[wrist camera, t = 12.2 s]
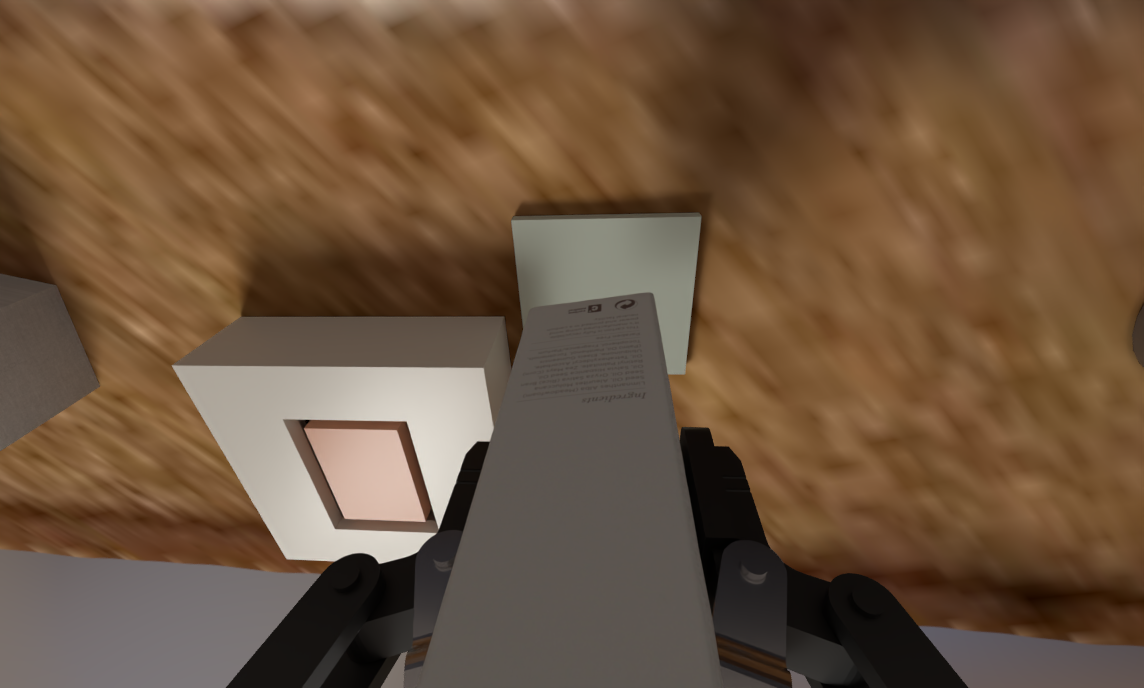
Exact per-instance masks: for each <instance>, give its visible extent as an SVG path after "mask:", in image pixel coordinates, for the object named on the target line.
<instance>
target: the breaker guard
mask: <svg viewBox="0 0 1144 688" xmlns="http://www.w3.org/2000/svg"><path fill="white" fill-rule="evenodd" d="M172 367H173V369H174V370H175V372H176V374H177V375H178V377H179V379H180V380H181V382H182V384H183V385H184V387H185V389H186V390H187V392H188V394H189V395H190V397H191V399H192V401H193V402H194V404H195V406H196V407H197V409H198V411H199V412H200V414H201V416H202V417H203V419H204V421H205V422H206V424H207V426H208V428H209V429H210V431H211V433H212V434H213V436H214V438H215V439H216V441H217V443H218V444H219V446H220V448H221V449H222V451H223V453H224V454H225V456H226V458H227V460H228V461H229V463H230V465H231V466H232V468H233V470H234V471H235V473H236V475H237V476H238V478H239V480H240V481H241V483H242V485H243V486H244V488H245V490H246V492H247V493H248V495H249V497H250V498H251V500H252V502H253V503H254V505H255V507H256V508H257V510H258V512H259V513H260V515H261V517H262V519H263V520H264V522H265V524H266V525H267V527H268V529H269V530H270V532H271V534H272V535H273V537H274V539H275V540H276V542H277V544H278V545H279V547H280V549H281V551H282V552H283V554H284V556H285V557H286V559H296V560H319V561H337V560H338V559H340V558H342V557H344V556H347V555H350V554H354V553H366V554H369V555H371V556H373V557H374V558H375V559H376V560H377V561H378V563H385V562H389V561H393V560H397V559H400V558H404V557H407V556H410V555H412V554H415V553H417V552H418V551H419V550H420V548H421V547H422V545H423V544H424V543H425V542H426V541H427V540H428V539H429V538H431V537H432V536H434V535H435V534H437V532H438V530H439V528H440V525H441V522H442V519H443V516H444V514H445V511H446V508H447V505H448V502H449V499H450V497H451V494H452V491H453V488H454V485H455V484H456V480H457V477H458V474H459V472H460V468H461V466H462V463H463V460H464V457H465V454H466V453H467V452H468V451H469V450H470V449H471V448H472V446H473V445H474V444H475V443H476V442H477V441H490V439H491V436H492V432H493V429H494V426H495V423H496V419H497V416H498V412H499V409H500V406H501V403H502V400H503V396H504V393H505V390H506V387H507V383H508V380H509V377H510V373H511V370H512V369H511V362H510V354H509V347H508V339H507V331H506V324H505V316H496V317H240V318H238V319H237V320H235V321H234V322H233V323H231V324H230V325H228V326H227V327H226V328H224V329H223V330H221V331H220V332H218V333H217V334H216V335H214V336H213V337H211V338H210V339H209V340H207V341H206V342H204V343H203V344H202V345H200V346H199V347H197V348H196V349H194V350H193V351H192V352H190V353H189V354H187V355H186V356H185V357H183V358H182V359H180V360H179V361H177V362H176V363H175V364H173V365H172ZM305 420H354V421H407V424H408V427H409V431H410V434H411V438H412V441H413V444H414V448H415V451H416V454H417V458H418V461H419V465H420V468H421V471H422V475H423V478H424V481H425V485H426V488H427V492H428V495H429V498H430V502H431V505H432V508H431V510H430V513H429V515H428V518H427V520H426V522H416V521H389V520H361V519H345V518H344V516H343V514H342V512H341V509H340V507H339V505H338V503H337V501H336V498H335V496H334V494H333V492H332V490H331V487H330V485H329V483H328V481H327V478H326V476H325V474H324V472H323V470H322V467H321V465H320V463H319V461H318V459H317V456H316V454H315V452H314V450H313V448H312V445H311V443H310V441H309V439H308V436H307V434H306V432H305V430H304V428H305V426H306V425H307V424H306V422H305Z"/></svg>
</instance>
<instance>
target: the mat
mask: <svg viewBox="0 0 1144 688" xmlns="http://www.w3.org/2000/svg"><path fill="white" fill-rule="evenodd" d="M511 223H512V232H513V241H514V250H515V259H516V268H517V277H518V287H519V296H520V305H521V314H522V323H523V329H524V326H525V323H526V320H527V316H528V313H529V310H530V309H531V308H533V307H539V306H546V305H555V304H562V303H571V302H579V301H585V300H593V299H601V298H608V297H615V296H622V295H630V294H637V293H645V292H650V293H653V295H654V298H655V304H656V309H657V315H658V320H659V326H660V332H661V337H662V343H663V349H664V354H665V360H666V366H667V372H668V374H685V368H686V359H687V349H688V340H689V330H690V321H691V311H692V302H693V292H694V283H695V273H696V264H697V255H698V245H699V236H700V226H701V215H700V213H651V214H599V215H548V216H513V218H512V220H511Z"/></svg>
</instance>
